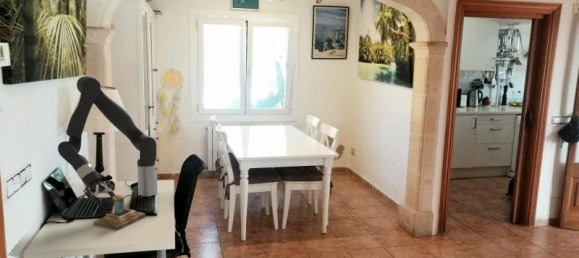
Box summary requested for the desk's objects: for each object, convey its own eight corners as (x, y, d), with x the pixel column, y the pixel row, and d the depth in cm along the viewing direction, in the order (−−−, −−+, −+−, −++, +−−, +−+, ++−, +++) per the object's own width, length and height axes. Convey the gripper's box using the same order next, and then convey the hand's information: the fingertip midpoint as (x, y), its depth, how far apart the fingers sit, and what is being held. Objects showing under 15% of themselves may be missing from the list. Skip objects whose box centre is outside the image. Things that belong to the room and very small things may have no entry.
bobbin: (119, 214, 213) (118, 194, 211) (128, 216, 211) (127, 195, 209) (111, 218, 208) (109, 197, 206) (120, 220, 206) (119, 199, 204)
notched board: (122, 211, 221) (122, 203, 220) (145, 216, 215) (145, 208, 215) (93, 224, 204) (93, 216, 204) (117, 230, 199) (117, 221, 198)
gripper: (80, 174, 205) (100, 202, 203) (104, 167, 218) (123, 193, 216) (72, 184, 208) (92, 211, 206) (96, 176, 221) (115, 202, 219)
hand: (108, 202), depth 211 cm, fingers open, 8 cm apart
